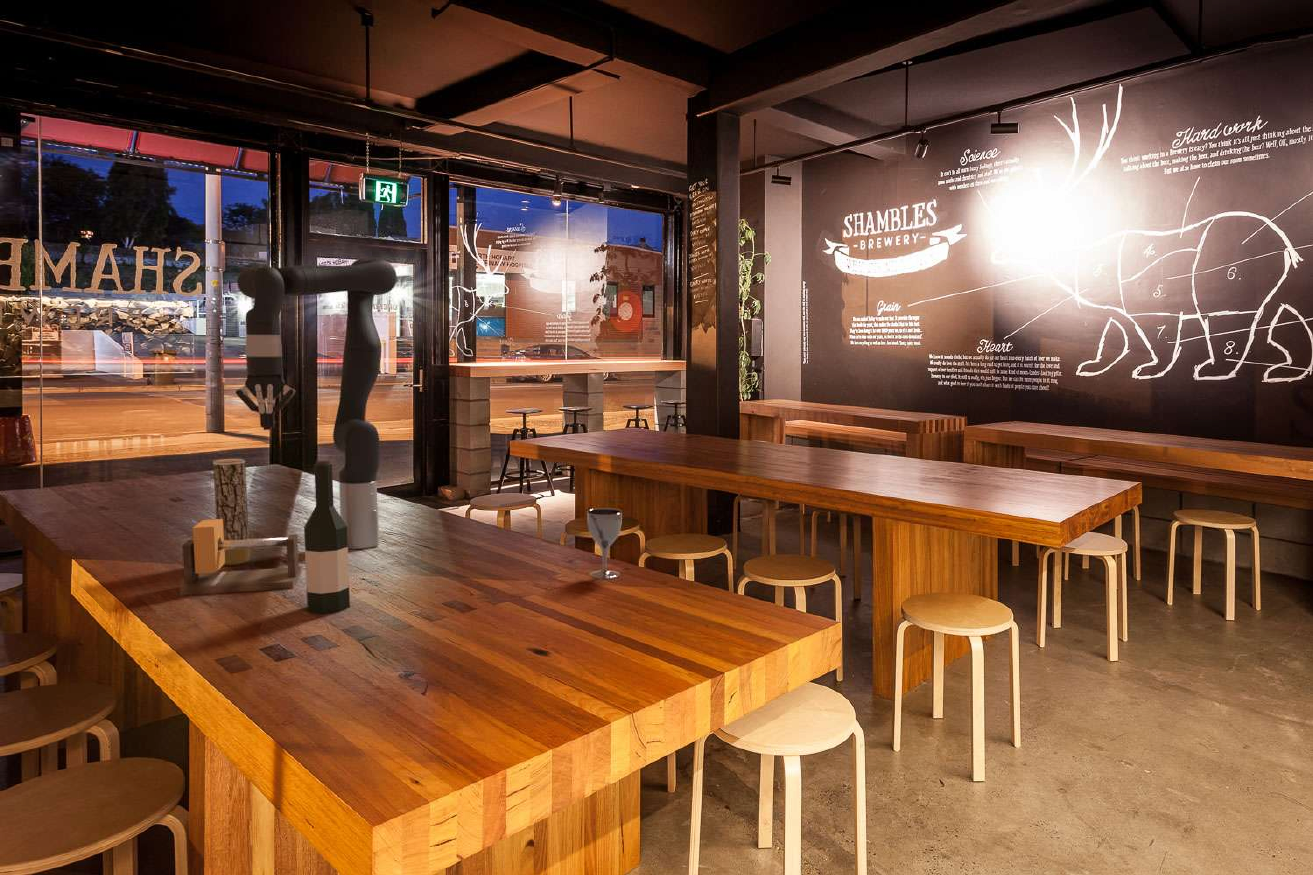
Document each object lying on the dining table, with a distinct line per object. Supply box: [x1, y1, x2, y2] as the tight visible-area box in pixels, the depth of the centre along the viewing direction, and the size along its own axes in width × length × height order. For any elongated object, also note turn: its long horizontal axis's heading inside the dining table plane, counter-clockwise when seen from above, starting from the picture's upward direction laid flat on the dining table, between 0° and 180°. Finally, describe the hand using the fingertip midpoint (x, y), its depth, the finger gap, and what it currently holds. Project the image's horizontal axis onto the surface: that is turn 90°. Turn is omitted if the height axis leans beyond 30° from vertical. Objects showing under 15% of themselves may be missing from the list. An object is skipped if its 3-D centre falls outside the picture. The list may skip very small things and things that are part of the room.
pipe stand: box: [179, 534, 302, 596], centre depth 181 cm, size 22×12×10 cm, turn 105°
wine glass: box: [587, 507, 623, 580], centre depth 191 cm, size 8×8×15 cm
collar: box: [192, 518, 225, 574], centre depth 179 cm, size 4×8×10 cm, turn 15°
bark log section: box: [212, 458, 251, 566], centre depth 198 cm, size 7×7×25 cm
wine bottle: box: [303, 459, 351, 615], centre depth 164 cm, size 8×8×30 cm
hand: (267, 429), depth 192 cm, fingers closed
